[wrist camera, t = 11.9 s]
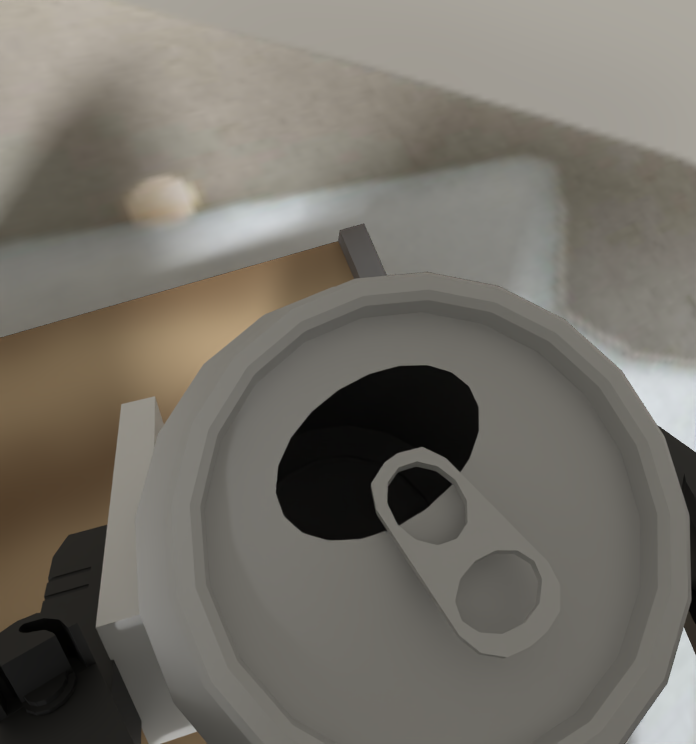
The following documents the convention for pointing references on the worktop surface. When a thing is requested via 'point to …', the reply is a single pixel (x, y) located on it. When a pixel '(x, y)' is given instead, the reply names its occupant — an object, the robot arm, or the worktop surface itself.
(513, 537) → the can
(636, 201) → the worktop surface
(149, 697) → the robot arm
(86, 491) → the wooden l-shaped piece
